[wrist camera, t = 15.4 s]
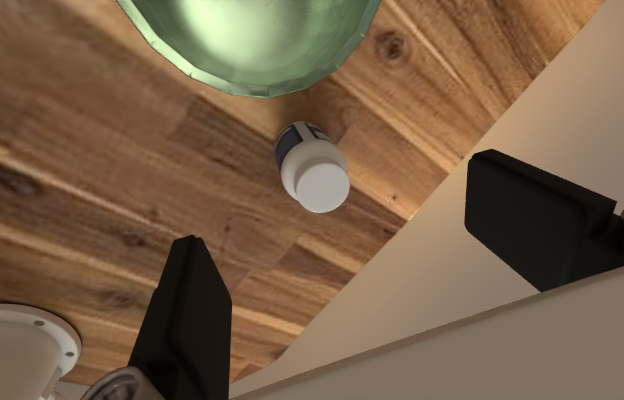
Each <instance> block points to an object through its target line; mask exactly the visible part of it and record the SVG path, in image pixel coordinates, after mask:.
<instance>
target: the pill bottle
mask: <svg viewBox="0 0 624 400" xmlns="http://www.w3.org/2000/svg"><path fill="white" fill-rule="evenodd" d="M274 155H275V159H276V162H277V165H278V169H279V172H280V176H281V180H282V182H283V185H284V187H285V189H286V190H287V192H288V193H289V194H290V195H291V196H292V197H293V198H294V199H296V200H298V201H299V202H300V204H301V205H302V206H303V207H304V208H306V209H307V210H309V211H312V212H316V213H324V212H329V211H331V210H334V209H335V208H337V207H338V206H340V205H341V204H342V203H343V202H344V200H345V199H346V197H347V195H348V193H349V189H350V181H349V177H348V175H347V162H346V159H345V157H344V155H343V153H342V152H341V151H340V149H339V148H338V147H337V146H336V145H335V144H334V142H333V141H332V140H331V139H330V138H329V137H328V136H327V135H326V134H325V133H324V131H323V130H322V129H321V128H319V127H318V126H317V125H315V124H313V123H311V122H307V121H297V122H293V123H291V124H289V125H287V126H285V127H284V128H283V129H282V130H281V131H280V132H279V134H278V135H277V137H276V139H275V143H274Z"/></svg>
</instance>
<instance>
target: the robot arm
mask: <svg viewBox="0 0 624 400" xmlns="http://www.w3.org/2000/svg"><path fill="white" fill-rule="evenodd" d="M616 203H617V201H615V200H612V199H610V198H608V197H605V196H603V195H601V194H598V193H596V192H593V191H591V190H589V189H586V188H584V187H582V186H579V185H577V184H575V183H572V182H570V181H568V180H565V179H563V178H560V177H558V176H556V175H553V174H551V173H549V172H546V171H544V170H542V169H539V168H537V167H535V166H532V165H530V164H527V163H525V162H523V161H520V160H518V159H515V158H513V157H511V156H508V155H506V154H504V153H501V152H499V151H497V150H494V149H489V150H485V151H482V152H478V153H475V154H474V155H473V156H472V158H471V159H470V160H469V162H468V171H467V188H466V205H465V222H464V223H465V227H466V229H467V231H468V232H469V233H470V234H472V235H473V236H474V237H475V238H476V239H478V240H479V241H480V242H481V243H482V244H484V245H485V246H486V247H487V248H488V249H489V250H491V251H492V252H493V253H494V254H495V255H497V256H498V257H499V258H500V259H502V260H503V261H504V262H505V263H506V264H508V265H509V266H510V267H511V268H512V269H513V270H515V271H516V272H517V273H518V274H519V275H521V276H522V277H523V278H524V279H525V280H527V281H528V282H529V283H531V285H533V286H534V287H535V288H536V289H537V290H539V291H540V292H541V293H539V294H536V295H533V296H530V297H527V298H524V299H521V300H518V301H515V302H512V303H509V304H506V305H502V306H500V307H496V308H494V309H491V310H488V311H484V312H482V313H478V314H476V315H472V316H469V317H467V318H463V319H460V320H458V321H454V322H452V323H448V324H445V325H443V326H440V327H437V328H434V329H431V330H428V331H425V332H422V333H419V334H416V335H413V336H410V337H407V338H404V339H401V340H398V341H395V342H392V343H389V344H386V345H383V346H380V347H377V348H374V349H371V350H368V351H365V352H362V353H360V354H357V355H354V356H351V357H348V358H345V359H342V360H339V361H336V362H333V363H330V364H328V365H325V366H321V367H318V368H315V369H313V370H310V371H307V372H304V373H301V374H298V375H295V376H292V377H290V378H287V379H284V380H281V381H278V382H276V383H273V384H270V385H267V386H265V387H262V388H259V389H257V390H254V391H251V392H248V393H245V394H242V395H239V396H237V397H234V398H232V399H229V400H624V210H623V211H622V213H621V215H620V216H618V215H616V214H614V213H613V212H614V209H615V206H616ZM231 319H232V301H231V297H230V294H229V292H228V290H227V288H226V286H225V284H224V282H223V280H222V278H221V276H220V274H219V272H218V270H217V268H216V266H215V263H214V261H213V259H212V257H211V255H210V253H209V251H208V249H207V247H206V245H205V243H204V241H203V239H202V238H201V237H199V238H196V237H195V236H194V235H190V236H186V237H183V238H179V239H176V240H174V242H173V244H172V247H171V250H170V253H169V256H168V259H167V261H166V264H165V267H164V270H163V273H162V276H161V279H160V282H159V285H158V287H157V288H156V289H155V291H154V292H153V295H152V298H151V300H150V303H149V306H148V309H147V312H146V315H145V317H144V320H143V323H142V326H141V329H140V331H139V334H138V337H137V340H136V343H135V345H134V348H133V351H132V354H131V357H130V359H129V362H128V365H127V366H126V367H122V368H118V369H116V370H114V371H112V372H110V373H108V374H106V375H105V376H103V377H102V378H100V379H99V380H98V381H96V382H95V383H94V384H93V385H92V386H91V387H90V388H89V389H88V390H87V391H86V392H85V394H84V395H83V396H82V398H81V399H80V400H228V396H229V371H230V345H231ZM80 353H81V341H80V338H79V336H78V334H77V333H76V331H75V330H74V329H73V328H72V327H71V326H70V325H69V324H68V323H67V322H65V321H64V320H63V319H61V318H59V317H57V316H55V315H53V314H52V313H49V312H46V311H44V310H41V309H38V308H34V307H29V306H25V305H17V304H0V400H65V398H64V397H63V396H62V395H61V394H59V393H58V392H56V391H55V390H54V389H55V385H56V383H57V381H58V379H59V378H60V377H62V376H64V375H65V374H67V373H68V372H69V371H70V370H71V369H72V368H73V367H74V365H75V364H76V362H77V360H78V358H79V356H80Z"/></svg>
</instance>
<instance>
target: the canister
mask: <svg viewBox="0 0 624 400" xmlns="http://www.w3.org/2000/svg"><path fill="white" fill-rule="evenodd" d="M381 1H382V0H116V2H117V3H118V5H119V6H120V7H121V8H122V10H123V11H124V12H125V14H126V15H127V16H128V18H129V19H130V20H131V22H132V23H133V24H134V26H135V27H136V28H137V30H138V31H139V32H140V34H141V35H142V36H143V38H144V39H145V40H146V41H147V43H148V44H149V45H151V47H152V48H153V49H154V50H155V51H157V52H158V53H159V54H160V55H162V56H163V57H164V58H165V59H167V60H168V61H169V62H170V63H172V64H173V65H174V66H175V67H177V68H178V69H179V70H181V71H182V72H183V73H184V74H186V75H187V76H188V77H190V78H192V79H194V80H197V81H199V82H201V83H204V84H206V85H208V86H211V87H213V88H216V89H218V90H220V91H223V92H225V93H228V94H230V95H241V96H251V97H262V98H271V97H275V96H280V95H284V94H288V93H292V92H296V91H301V90H304V89H307V88H309V87H310V86H312V85H313V84H315V83H317V82H318V81H320V80H321V79H323V78H324V77H326V76H328V75H329V74H331V73H332V72H334V71H336V70H337V69H338V68H339V67H340V66H341V65H342V63H343V62H344V61H345V60H346V59H347V58H348V56H349V55H350V54H351V53H352V52H353V51H354V49H355V48H356V47H357V46H358V45H359V43H360V42H361V41H362V40H363V39H364V37H365V36H366V33H367V31H368V29H369V27H370V25H371V23H372V20H373V18H374V16H375V14H376V12H377V10H378V7H379V5H380V3H381Z"/></svg>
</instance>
